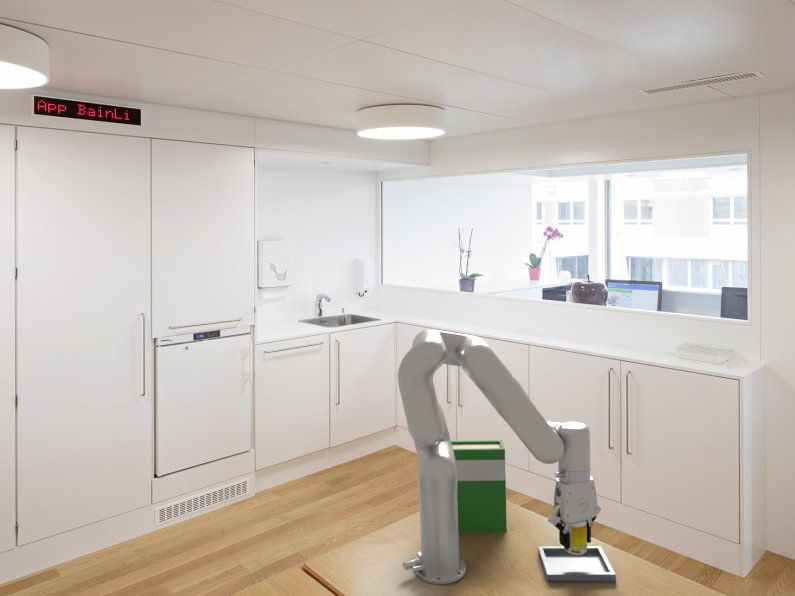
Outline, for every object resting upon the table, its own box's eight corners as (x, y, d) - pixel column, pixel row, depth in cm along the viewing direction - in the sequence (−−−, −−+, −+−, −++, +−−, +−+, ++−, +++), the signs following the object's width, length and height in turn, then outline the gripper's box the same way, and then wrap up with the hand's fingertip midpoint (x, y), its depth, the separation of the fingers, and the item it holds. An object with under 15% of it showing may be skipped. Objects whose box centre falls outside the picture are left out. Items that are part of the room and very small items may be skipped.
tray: (547, 582, 142) (547, 574, 142) (538, 553, 155) (538, 546, 154) (615, 582, 141) (615, 574, 141) (600, 553, 154) (600, 546, 153)
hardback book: (444, 531, 168) (441, 450, 166) (443, 519, 176) (441, 441, 173) (506, 531, 167) (504, 449, 164) (503, 519, 174) (502, 440, 172)
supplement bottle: (591, 550, 147) (591, 510, 146) (578, 558, 143) (578, 518, 142) (572, 542, 151) (571, 503, 150) (559, 550, 148) (558, 510, 147)
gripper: (554, 485, 139) (555, 558, 141) (612, 472, 145) (613, 542, 147) (535, 474, 146) (537, 544, 147) (592, 461, 152) (593, 529, 154)
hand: (575, 542), depth 147 cm, fingers closed on supplement bottle, 5 cm apart
